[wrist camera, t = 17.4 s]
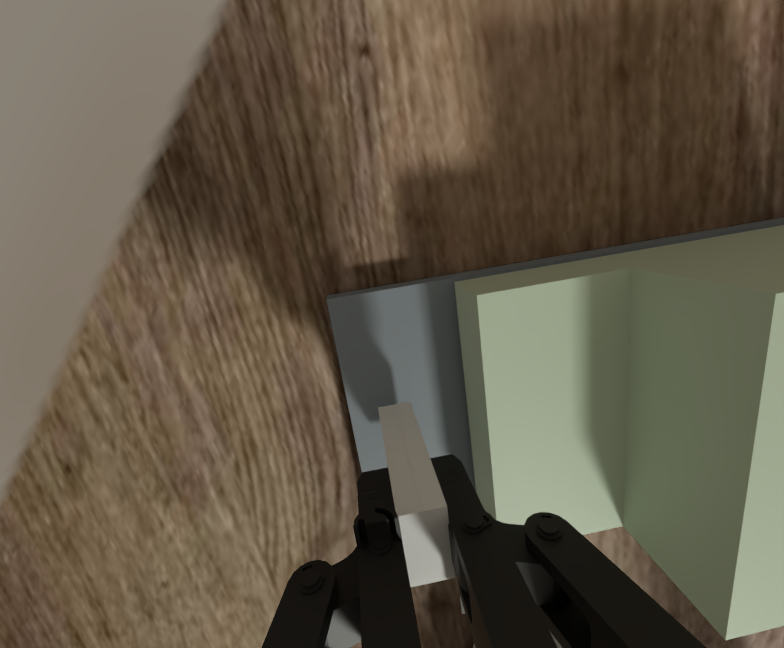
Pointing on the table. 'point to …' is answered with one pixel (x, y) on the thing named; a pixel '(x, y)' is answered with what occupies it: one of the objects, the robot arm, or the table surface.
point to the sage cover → (642, 409)
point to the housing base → (429, 351)
